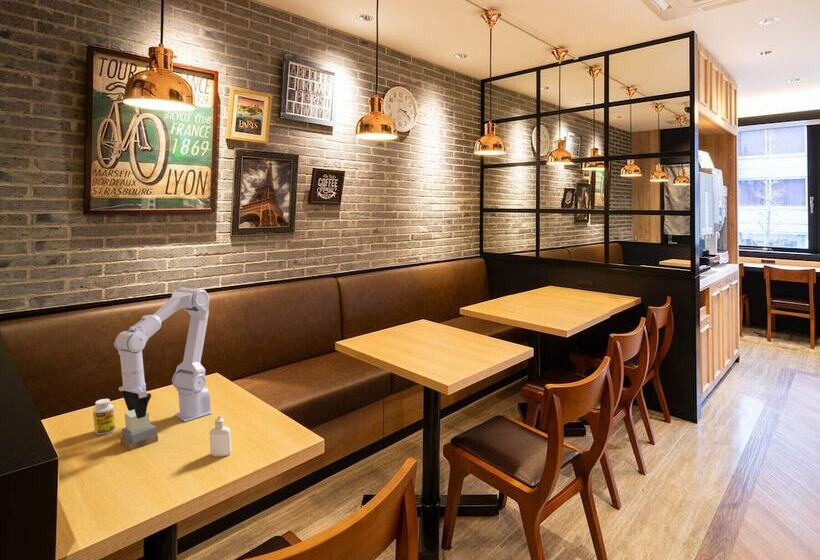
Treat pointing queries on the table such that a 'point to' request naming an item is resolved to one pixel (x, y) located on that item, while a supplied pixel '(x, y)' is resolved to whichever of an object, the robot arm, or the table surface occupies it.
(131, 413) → the sage cube
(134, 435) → the slate gray middle block
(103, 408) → the supplement bottle
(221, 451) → the eye dropper bottle
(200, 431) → the table surface
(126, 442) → the walnut base slab
